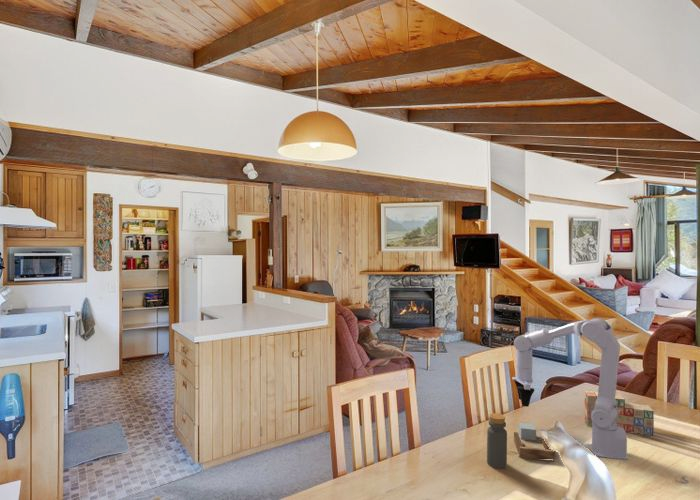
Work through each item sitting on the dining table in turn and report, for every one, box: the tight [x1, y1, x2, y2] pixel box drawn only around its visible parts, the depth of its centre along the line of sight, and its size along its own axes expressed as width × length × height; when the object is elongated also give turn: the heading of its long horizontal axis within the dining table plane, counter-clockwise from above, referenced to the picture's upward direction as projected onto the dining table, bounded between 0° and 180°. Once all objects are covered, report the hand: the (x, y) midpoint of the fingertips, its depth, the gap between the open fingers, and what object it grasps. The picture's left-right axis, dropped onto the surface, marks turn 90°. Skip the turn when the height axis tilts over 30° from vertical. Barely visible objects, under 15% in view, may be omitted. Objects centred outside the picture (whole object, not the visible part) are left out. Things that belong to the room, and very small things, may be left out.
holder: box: [513, 431, 556, 460], centre depth 139 cm, size 10×12×3 cm
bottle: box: [486, 412, 508, 470], centre depth 130 cm, size 6×6×15 cm
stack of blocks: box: [584, 390, 655, 436], centre depth 158 cm, size 21×6×12 cm, turn 68°
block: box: [518, 422, 537, 441], centre depth 150 cm, size 5×5×4 cm
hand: (523, 402), depth 157 cm, fingers open, 6 cm apart
